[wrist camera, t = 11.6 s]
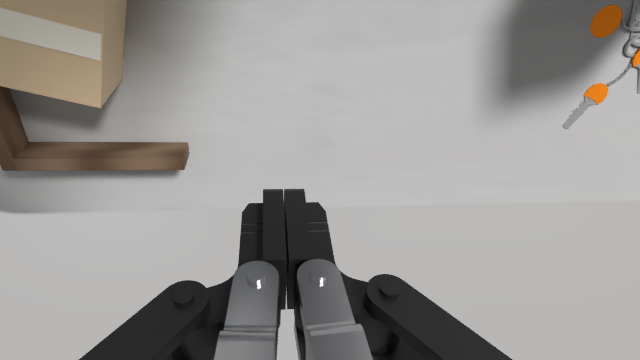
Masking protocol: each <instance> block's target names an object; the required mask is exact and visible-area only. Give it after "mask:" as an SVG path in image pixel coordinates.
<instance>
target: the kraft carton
mask: <svg viewBox="0 0 640 360" xmlns="http://www.w3.org/2000/svg"><path fill="white" fill-rule="evenodd" d="M126 8H127V0H0V86H2V87H7V88H11V89H16V90H20V91H25V92H29V93H34V94H38V95H43V96H47V97H52V98H56V99H61V100H65V101H70V102H74V103H79V104H83V105H88V106H92V107H97V108H101V107H102V106H103V104H104V103H105V102H106V101H107V99H108V98H109V97H110V95H111V94H112V93H113V91H114V90H115V89H116V87H117V86H118V85H119V83H120V82H121V81H122V69H123V53H124V38H125V23H126Z"/></svg>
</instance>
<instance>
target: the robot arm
mask: <svg viewBox="0 0 640 360" xmlns="http://www.w3.org/2000/svg"><path fill="white" fill-rule="evenodd" d="M286 291H287V309H294V315H295V325H294V332H295V338H296V346H297V351H298V359H299V360H512V359H511V358H509V357H508V356H507V355H505V354H504V353H503V352H501V351H500V350H498V349H497V348H496V347H494V346H492V345H491V344H490V343H489V342H487V341H486V340H485V339H483V338H482V337H480V336H479V335H478V334H476V333H475V332H474V331H472V330H471V329H469V328H468V327H467V326H465V325H464V324H463V323H461V322H460V321H458V320H457V319H456V318H454V317H453V316H451V315H450V314H449V313H447V312H446V311H444V310H443V309H442V308H440V307H439V306H438V305H436V304H435V303H434V302H432V301H431V300H429V299H428V298H427V297H425V296H424V295H423V294H421V293H420V292H418V291H417V290H416V289H414V288H413V287H411V286H410V285H408V284H407V283H406V282H405V281H403V280H402V279H400V278H398V277H396V276H393V275H389V274H382V275H377V276H374V277H373V278H371V279H370V280H369V282H365V281H360V280H356V279H352V278H350V277H348V276H346V275H344V274H343V273H342V272H341V271H340V270H339V269H338V268H337V266H336V264H335V261H334V255H333V251H332V244H331V239H330V233H329V228H328V223H327V217H326V211H325V210H324V209H323V208H322V206H321V205H320V204H319V203H318V202H310V203H306V200H305V192H304V189H284V200H283V189H263V203H249V204H248V205H247V207H246V208H245V210H244V211H243V212H242V224H241V236H240V251H239V264H238V268H237V270H236V272H235V274H234V275H233V276H232V277H231V278H230V279H229V280H227V281H225V282H223V283H221V284H218V285H215V286H212V287H209V288H206V287H205V286H204V285H202V284H201V283H199V282H196V281H181V282H177V283H175V284H173V285H171V286H169V287H168V288H166V289H165V290H164V291H163V292H162V293H160V294H159V295H158V296H157V297H156V298H154V299H153V300H152V301H150V302H149V303H148V304H147V305H146V306H144V307H143V308H142V309H141V310H139V311H138V312H137V313H136V314H135V315H133V316H132V317H131V318H130V319H128V320H127V321H126V322H125V323H124V324H122V325H121V326H120V327H119V328H117V329H116V330H115V331H114V332H112V333H111V334H110V335H109V336H108V337H106V338H105V339H104V340H103V341H101V342H100V343H99V344H98V345H97V346H95V347H94V348H93V349H92V350H90V351H89V352H88V353H87V354H86V355H84V356H83V357H82V358H80V359H79V360H276V359H277V344H278V328H279V326H280V312H281V310H282V309H285V304H286Z"/></svg>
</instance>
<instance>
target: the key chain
mask: <svg viewBox="0 0 640 360" xmlns="http://www.w3.org/2000/svg"><path fill="white" fill-rule="evenodd" d="M636 5H637V0H634V3H633V8H632V14H631V19H630V21H629V26H628V27H627V26H626V25H625V19H626V18H624V19H623V20H622V25H623V27H624V28H625V29H629V31H631V32H630V36H629V41H628V42H627V44H626V46H625V48H624V54H625V55H626V56H627V57H632V59H631V60H632V61H631V62H630V63H629V66H628V67H627V68H626V69H625V72H623V73H622V74H621V76H620V77H617V78H616V79H615V81H614V80H613V81H611V82H610V83H608V84H601V83H599V84H596V85H593V86H592V87H590V88H589V89H588V90H587V91H586V93H585V94H584V102H583V101H581V103H580V105H579V106H580V107H579V108H578V109H577V108H576V109H575V110H573V111H572V112H573V114H572V115H570V116H569V117H570V118H569V119H568V120H567V121H566V122H565V123H564V124H563V125H562V126H563V128H564V129H568V128H569V127H570V126H571V125H572V124H573V123H574V122H575V121H576V120H577V119H578V118H579V117H580V116H581V115H582V114H583V113H584V111H585V110H586V109H587V108H588V107H589V106H592V105H595V104H597V105H598V104H599V103H601V102H602V101H603V100H604V99H605V97H606V96H607V93H608V88H607V87H609V86H610V85H612V84H614V83H615V82H617V81H618V80H620V79H621V78H622V77H623V76H624V75H625V74H626V73H627V72H628V71H629V69H630V68H631V66H633V67H637V68H639V71H638V83H637V94H638V93H640V49H639V50H638V51H637V52H636V53H633V54H630V53H628V48H629V46H630V44H631V45H633V46H635V47H640V43H638V42H636V41H635V39H637V38H639V37H640V34H638V35H635V36H634V37H633V34H634V32H637V31H640V27H639V26H640V21H639V22H638V23H637V24H636V25H635V23H636V19H634V17H635V11H636ZM621 19H622V10H621V8H620V7H619V6H616V5H609V6H606V7H604V8H602V9H601V10H600V11H599V12H598V13H597V14H596V15H595V16H594V18H593V20H592V22H591V26H590V29H591V33H592V34H593V36H595V37H598V38H601V37H606V36H608V35H610V34H611V33H612V32H613V31H615V30H616V29H617V27H618V26H619V24H620V22H621ZM634 25H635V26H634Z"/></svg>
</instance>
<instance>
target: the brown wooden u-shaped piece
mask: <svg viewBox="0 0 640 360" xmlns="http://www.w3.org/2000/svg"><path fill="white" fill-rule="evenodd" d="M188 156H189V147H188V143H155V142H29V141H28V138H27V136H26V133H25V130H24V128H23V125H22V123H21V120H20V117H19V115H18V112H17V109H16V107H15V104H14V101H13V99H12V96H11V93H10V91H9V88H7V87H2V86H0V165H1V167H2V169H3V171H4V170H184V169H185V166H186V163H187V159H188Z"/></svg>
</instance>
